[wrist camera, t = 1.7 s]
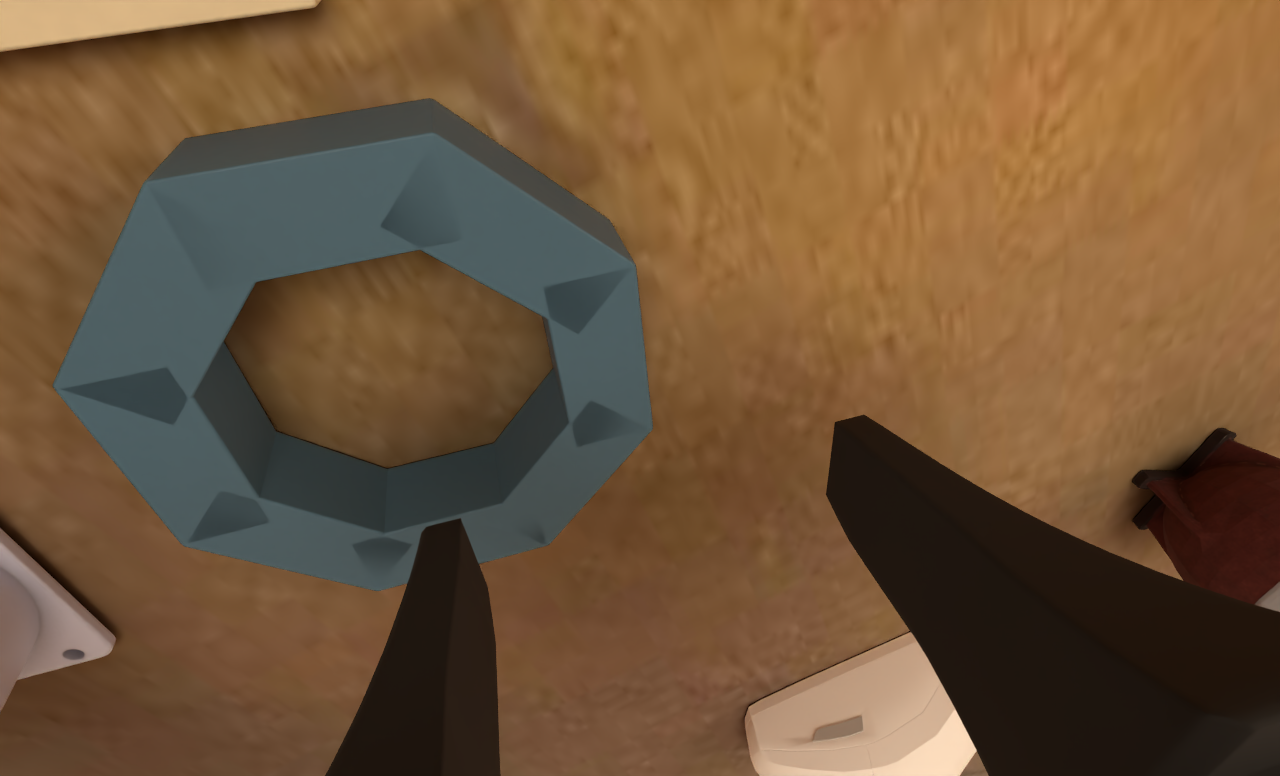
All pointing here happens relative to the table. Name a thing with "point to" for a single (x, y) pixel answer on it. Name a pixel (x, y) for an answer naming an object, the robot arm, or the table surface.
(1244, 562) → the mate gourd
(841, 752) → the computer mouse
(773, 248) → the table surface
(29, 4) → the peg stand
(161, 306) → the ring
